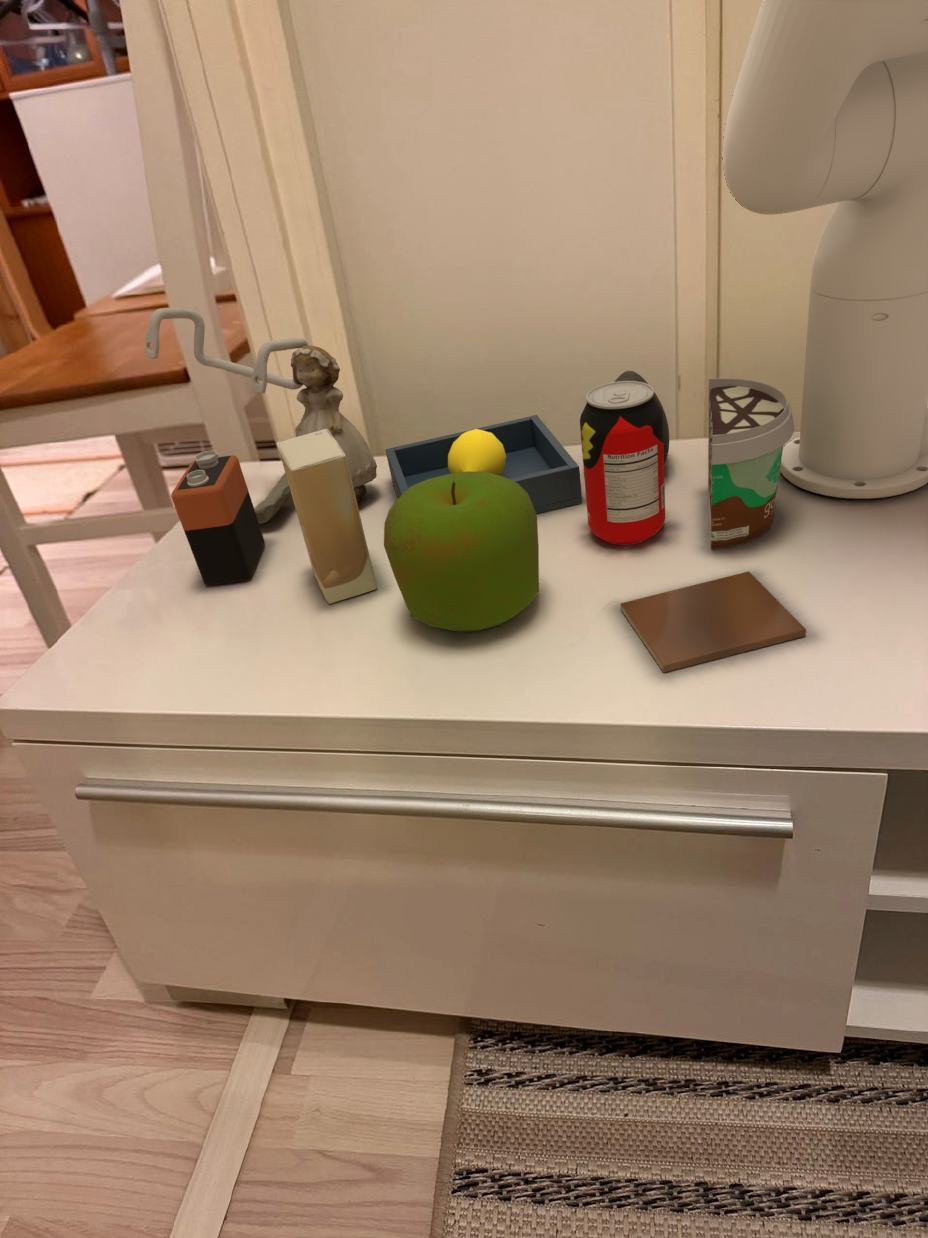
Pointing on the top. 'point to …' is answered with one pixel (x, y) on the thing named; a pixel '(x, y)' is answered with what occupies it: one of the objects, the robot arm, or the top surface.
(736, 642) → the placemat
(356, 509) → the cosmetic box
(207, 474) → the battery
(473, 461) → the lemon
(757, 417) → the brown and cream wedge
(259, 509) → the stone
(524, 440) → the bin
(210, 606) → the top surface
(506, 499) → the apple
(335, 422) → the figurine
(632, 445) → the beverage can
